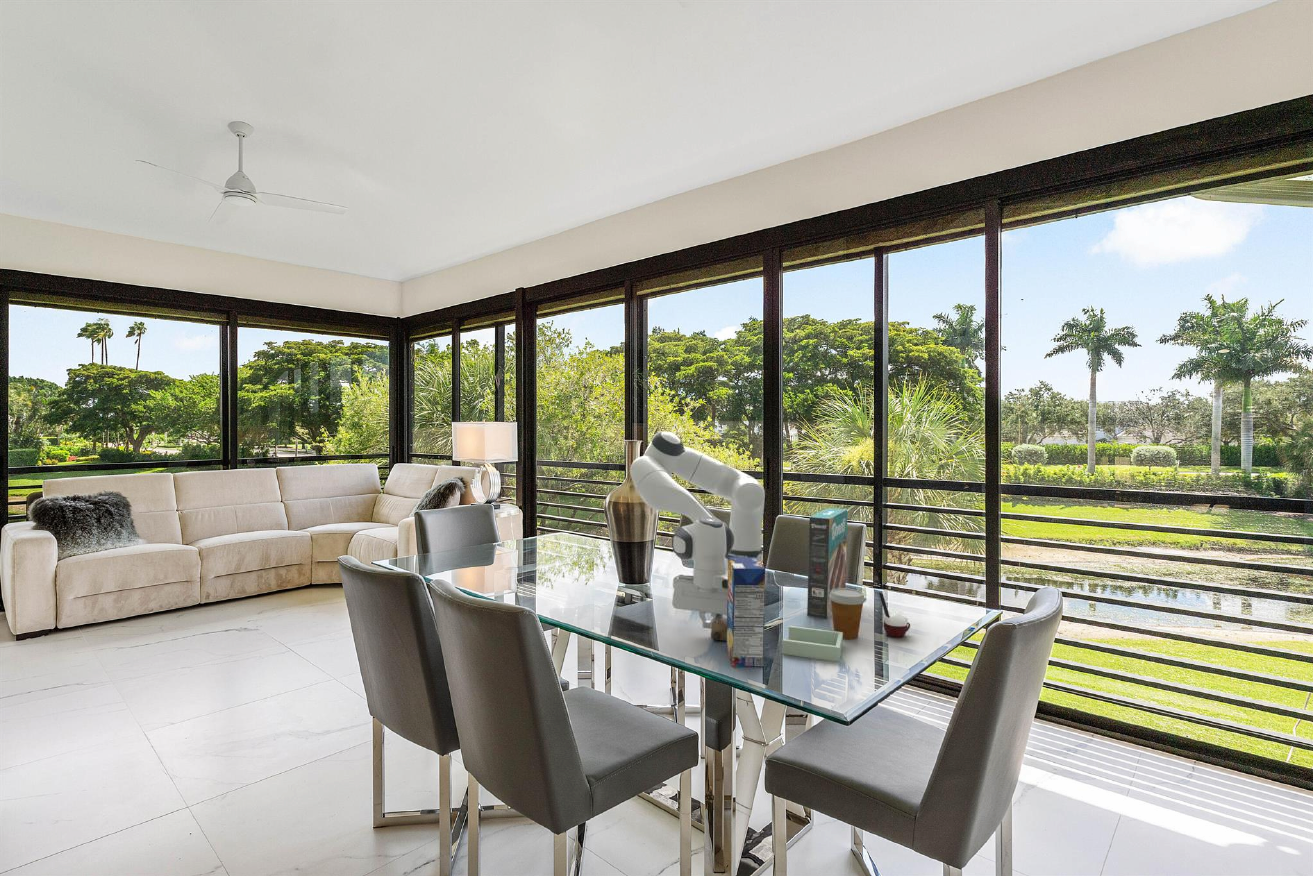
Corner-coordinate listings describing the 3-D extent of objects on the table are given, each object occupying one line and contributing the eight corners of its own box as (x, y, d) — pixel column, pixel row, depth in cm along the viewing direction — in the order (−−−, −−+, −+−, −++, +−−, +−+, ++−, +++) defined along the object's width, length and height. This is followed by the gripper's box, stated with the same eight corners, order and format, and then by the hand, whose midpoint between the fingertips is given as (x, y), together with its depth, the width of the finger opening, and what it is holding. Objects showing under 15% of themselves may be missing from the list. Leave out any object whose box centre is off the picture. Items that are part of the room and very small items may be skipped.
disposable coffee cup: (821, 632, 182) (822, 589, 182) (848, 627, 186) (849, 586, 186) (843, 643, 174) (844, 598, 173) (871, 638, 177) (872, 595, 177)
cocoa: (908, 634, 183) (911, 591, 183) (913, 641, 177) (916, 597, 176) (873, 630, 184) (875, 588, 184) (877, 637, 178) (880, 593, 178)
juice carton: (726, 649, 168) (728, 557, 167) (755, 649, 168) (757, 557, 167) (732, 667, 156) (734, 568, 155) (763, 668, 156) (765, 568, 155)
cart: (709, 639, 174) (711, 618, 174) (717, 630, 181) (718, 610, 181) (739, 645, 171) (741, 624, 171) (745, 636, 179) (747, 615, 178)
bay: (782, 653, 166) (782, 640, 166) (789, 638, 177) (789, 625, 177) (839, 661, 161) (839, 647, 161) (842, 645, 172) (842, 632, 172)
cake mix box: (827, 619, 194) (829, 518, 193) (807, 615, 197) (809, 516, 196) (845, 600, 213) (847, 509, 212) (826, 597, 216) (828, 507, 215)
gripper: (669, 576, 178) (668, 626, 179) (743, 584, 171) (741, 636, 172) (676, 571, 184) (675, 619, 185) (748, 579, 177) (747, 629, 178)
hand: (708, 627), depth 178 cm, fingers closed
